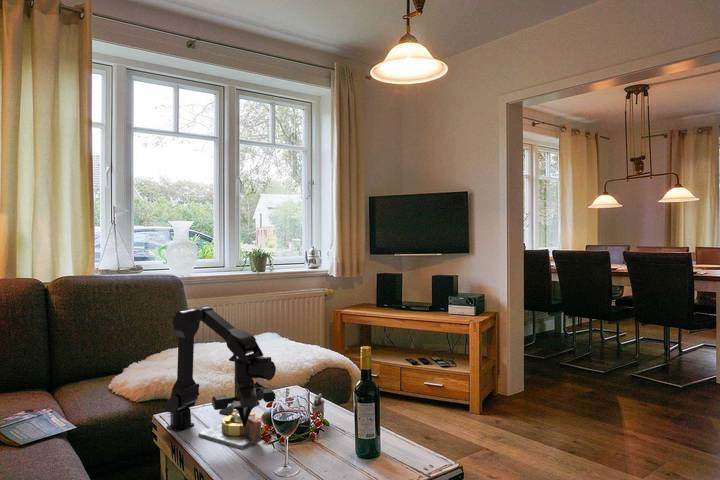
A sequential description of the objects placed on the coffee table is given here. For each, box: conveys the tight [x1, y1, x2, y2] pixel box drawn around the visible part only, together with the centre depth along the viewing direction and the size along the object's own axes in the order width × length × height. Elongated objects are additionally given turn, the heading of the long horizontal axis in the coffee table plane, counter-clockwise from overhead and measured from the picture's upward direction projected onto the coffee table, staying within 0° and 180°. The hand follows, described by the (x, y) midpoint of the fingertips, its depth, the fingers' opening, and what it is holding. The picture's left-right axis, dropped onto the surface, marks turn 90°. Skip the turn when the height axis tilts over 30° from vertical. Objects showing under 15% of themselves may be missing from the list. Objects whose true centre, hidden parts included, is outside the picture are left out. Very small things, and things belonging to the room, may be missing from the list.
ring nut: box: [221, 412, 262, 444], centre depth 157 cm, size 18×11×6 cm, turn 38°
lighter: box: [311, 393, 325, 420], centre depth 166 cm, size 8×3×10 cm, turn 168°
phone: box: [218, 401, 260, 416], centre depth 182 cm, size 8×1×15 cm
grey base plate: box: [198, 409, 262, 450], centre depth 160 cm, size 19×18×6 cm
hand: (244, 426), depth 152 cm, fingers closed
